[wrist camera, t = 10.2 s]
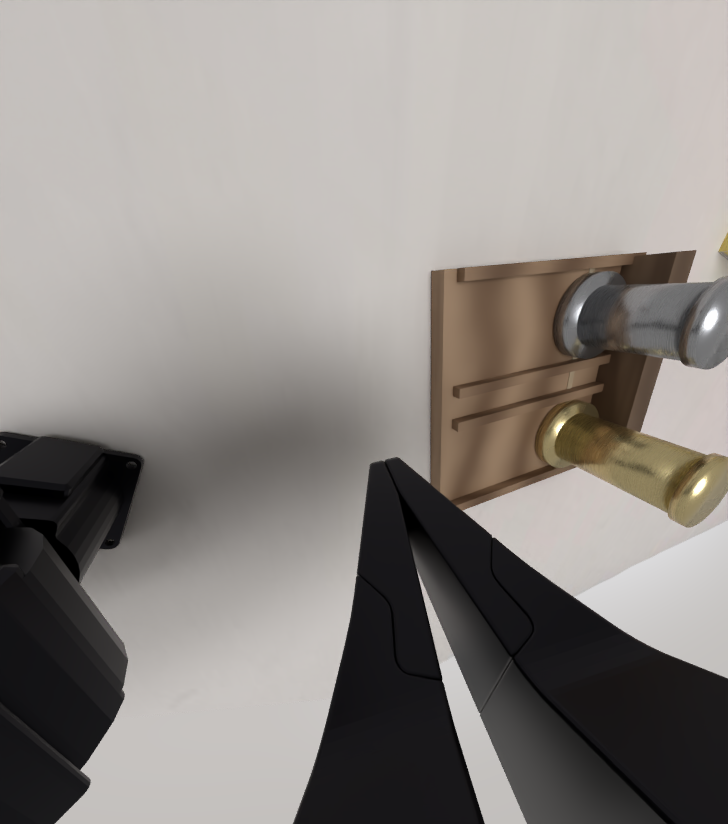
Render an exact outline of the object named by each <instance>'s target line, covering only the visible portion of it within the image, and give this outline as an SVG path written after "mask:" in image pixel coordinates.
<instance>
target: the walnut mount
mask: <svg viewBox="0 0 728 824" xmlns="http://www.w3.org/2000/svg"><path fill="white" fill-rule="evenodd" d="M695 253H696V250H693V251H681V252H671V253H661V254H651V255H646V252H645V253H633V254H621V255H609V256H597V257H585V258H573V259H562V260H550V261H538V262H526V263H514V264H502V265H490V266H478V267H467V268H458V269H446V270H438V271H432V272H431V485H432V486H433V487H434V488H436V489H437V490H438V491H439V492H440V493H442V494H443V495H444V496H445V497H446V498H448V499H449V500H450V501H451V502H452V503H454V504H455V505H456V506H457V507H458V508H460V509H461V510H465V509H467V508H470V507H473V506H475V505H478V504H480V503H483V502H486V501H488V500H491V499H494V498H496V497H499V496H502V495H504V494H507V493H509V492H512V491H515V490H517V489H520V488H523V487H525V486H528V485H531V484H533V483H536V482H538V481H541V480H544V479H546V478H549V477H552V476H554V475H557V474H560V473H562V472H565V471H567V470H570V469H573V468H575V467H576V466H574V465H572V464H571V465H569V466H567V467H564V468H556V467H553V466H551V465H550V464H548V463H546V462H544V461H542V460H541V459H540V458H539V457H538V455H537V453H536V449H535V442H536V436H537V433H538V430H539V428H540V426H541V424H542V422H543V420H544V419H545V417H546V416H547V415H548V413H549V412H550V411H551V410H552V409H553V408H554V407H555V406H557V405H558V404H560V403H563V402H567V401H570V400H574V399H577V400H580V401H584V402H587V403H590V404H592V405H594V406H595V407H596V409H597V411H598V414H599V418H600V419H603V420H606V421H609V422H612V423H615V424H617V425H620V426H623V427H626V428H629V429H632V430H635V431H638V432H640V431H641V428H642V425H643V421H644V418H645V415H646V412H647V408H648V405H649V402H650V399H651V395H652V392H653V389H654V386H655V383H656V379H657V376H658V373H659V370H660V366H661V363H662V360H663V358H660V357H653V356H646V355H639V354H633V353H626V352H619V351H612V350H606V349H605V350H604V351H603V352H601V353H600V354H598V355H597V356H595V357H592V358H589V359H582V358H577V357H571V356H567V355H565V354H563V353H562V352H560V350H559V349H558V347H557V346H556V343H555V339H554V320H555V315H556V312H557V309H558V306H559V304H560V301H561V299H562V298H563V296H564V294H565V292H566V291H567V290H568V288H569V287H570V286H571V285H572V284H573V283H574V282H575V281H576V280H577V279H578V278H580V277H581V276H583V275H585V274H587V273H591V272H603V271H614V272H617V273H619V274H620V275H621V276H622V277H623V278H624V280H625V282H626V285H631V284H668V283H686V282H687V279H688V276H689V273H690V270H691V266H692V263H693V260H694V257H695Z"/></svg>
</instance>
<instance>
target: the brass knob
mask: <svg viewBox="0 0 728 824" xmlns="http://www.w3.org/2000/svg"><path fill="white" fill-rule="evenodd" d="M535 449H536V453H537V455H538V457H539V458H540V459H541V460H542V461H544V462H546V463H548V464H550V465H551V466H553V467H556V468H564V467H567V466H569V465H571V464H572V465H574V466H576V467H578V468H580V469H582V470H584V471H586V472H588V473H590V474H592V475H594V476H596V477H598V478H600V479H602V480H604V481H606V482H608V483H610V484H612V485H614V486H616V487H618V488H620V489H622V490H623V491H625V492H627V493H629V494H631V495H633V496H635V497H637V498H639V499H641V500H643V501H645V502H647V503H649V504H651V505H653V506H655V507H657V508H659V509H661V510H663V511H665V512H667V513H668V517H669V518H670V519H671V520H673V521H675V522H677V523H679V524H681V525H683V526H685V527H688V528H689V527H693V526H695V525H697V524H698V523H700V522H701V521H703V520H704V519H705V518H706V517H707V516H708V515H709V514H710V513H711V512H712V511H713V510H714V509H715V508H716V507H717V505H718V504H719V503H720V502H721V500H722V499H723V497H724V496H725V494H726V493H727V491H728V457H725V456H722V455H719V454H716V453H712V454H709V455H705V454H702V453H699V452H696V451H694V450H691V449H688V448H685V447H682V446H679V445H676V444H673V443H670V442H667V441H664V440H661V439H658V438H656V437H653V436H650V435H647V434H644V433H641V432H638V431H635V430H632V429H629V428H626V427H623V426H620V425H617V424H615V423H612V422H609V421H606V420H603V419H600V418H599V414H598V411H597V409H596V407H595V406H594V405H592V404H590V403H587V402H584V401H580V400H577V399H574V400H570V401H567V402H563V403H560V404H558V405H557V406H555V407H554V408H553V409H552V410H551V411H550V412H549V413H548V415H547V416H546V417H545V419H544V420H543V422H542V424H541V426H540V428H539V430H538V433H537V436H536V442H535Z"/></svg>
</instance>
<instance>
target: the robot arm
mask: <svg viewBox="0 0 728 824" xmlns="http://www.w3.org/2000/svg"><path fill="white" fill-rule="evenodd" d="M0 440H2V441H4V442H5V443H6V445H7V446H4V445H1V444H0V824H55V823H56V822H57V821H58V820H59V819H60V818H61V817H62V816H63V815H64V813H66V812H67V811H68V810H69V809H70V808H71V807H72V806H73V805H74V804H75V803H76V802H77V801H78V800H79V799H80V798H81V796H83V795H84V793H85V792H86V791H87V789H88V788H89V785H90V779H89V778H88V777H87V776H86V775H85V774H84V773H82V772H81V771H80V770H81V768H82V767H83V766H84V765H85V763H86V762H87V761H88V760H89V758H90V756H91V755H92V753H93V752H94V750H95V749H96V747H97V746H98V744H99V743H100V741H101V740H102V738H103V737H104V735H105V734H106V732H107V730H108V729H109V727H110V726H111V724H112V723H113V721H114V719H115V717H116V715H117V713H118V711H119V708H120V706H121V704H122V702H123V700H124V696H125V694H124V691H123V690H122V688H123V685H124V680H125V674H126V669H127V663H128V658H127V654H126V651H125V647H124V643H123V642H122V641H121V639H120V638H119V637H118V635H117V634H116V633H115V631H114V630H113V628H112V627H111V626H110V624H109V623H108V622H107V620H106V619H105V618H104V616H103V615H102V614H101V612H100V611H99V610H98V608H97V607H96V606H95V604H94V603H93V601H92V600H91V599H90V597H89V596H88V595H87V593H86V592H85V591H84V589H83V588H82V587H81V585H80V583H81V581H82V579H83V577H84V575H85V573H86V572H87V570H88V568H89V566H90V564H91V563H92V561H93V559H94V557H95V555H96V554H97V552H98V550H99V549H112V548H115V547H117V546H118V545H119V543H120V541H121V539H122V535H123V532H124V529H125V525H126V522H127V518H128V515H129V511H130V508H131V505H132V501H133V498H134V494H135V491H136V487H137V484H138V480H139V477H140V474H141V470H142V467H143V459H142V458H141V457H140V456H138V455H134V454H128V453H122V452H116V451H111V450H105V449H102V448H101V447H100V446H95V445H89V444H83V443H78V442H72V441H66V440H61V439H55V438H49V437H40V438H35V437H30V436H24V435H18V434H12V433H6V432H0ZM128 462H135V463H136V464H137V465H136V466H131V465H129V463H128ZM107 539H112V540H114V541H108V540H107ZM416 568H417V569H416ZM417 570H418V573H419V575H420V577H421V580H422V582H423V584H424V587H425V589H426V591H427V594H428V596H429V598H430V600H431V603H432V605H433V607H434V610H435V612H436V614H437V617H438V619H439V621H440V624H441V626H442V628H443V630H444V633H445V635H446V637H447V640H448V642H449V644H450V647H451V649H452V651H453V654H454V656H455V658H456V660H457V663H458V665H459V667H460V670H461V672H462V674H463V677H464V679H465V681H466V684H467V686H468V688H469V691H470V693H471V695H472V698H473V700H474V702H475V704H476V706H477V709H478V711H479V713H480V716H481V719H482V721H483V723H484V725H485V728H486V730H487V732H488V735H489V737H490V739H491V742H492V744H493V746H494V749H495V751H496V753H497V755H498V758H499V760H500V762H501V765H502V767H503V769H504V772H505V774H506V776H507V779H508V781H509V783H510V785H511V788H512V790H513V792H514V795H515V797H516V799H517V802H518V804H519V806H520V809H521V811H522V813H523V815H524V818H525V820H526V822H527V824H728V678H725V677H723V676H720V675H717V674H715V673H713V672H710V671H707V670H705V669H702V668H700V667H698V666H695V665H693V664H690V663H687V662H685V661H682V660H680V659H678V658H675V657H672V656H670V655H668V654H665V653H663V652H661V651H659V650H656V649H654V648H652V647H650V646H648V645H646V644H644V643H643V642H641V641H639V640H637V639H635V638H634V637H632V636H630V635H629V634H627V633H625V632H624V631H622V630H621V629H619V628H618V627H616V626H614V625H613V624H612V623H610V622H609V621H607V620H606V619H604V618H603V617H601V616H600V615H599V614H597V613H596V612H594V611H593V610H591V609H590V608H589V607H587V606H586V605H584V604H583V603H581V602H580V601H579V600H577V599H576V598H574V597H573V596H571V595H570V594H568V593H567V592H566V591H564V590H563V589H561V588H560V587H558V586H557V585H555V584H554V583H553V582H551V581H550V580H548V579H547V578H546V577H544V576H543V575H541V574H540V573H539V572H537V571H536V570H535V569H533V568H532V567H530V566H529V565H528V564H526V563H525V562H524V561H523V560H521V559H520V558H519V557H518V556H516V555H515V554H514V553H513V552H511V551H510V550H509V549H508V548H506V547H505V546H504V545H503V544H502V543H500V542H499V541H498V540H497V539H496V538H492V535H491V534H489V533H488V532H487V531H486V530H485V529H484V528H482V527H481V526H480V525H479V524H478V523H476V522H475V521H474V520H473V519H472V518H470V517H469V516H468V515H467V514H466V513H464V512H463V511H462V510H461V509H460V508H458V507H457V506H456V505H455V504H454V503H452V502H451V501H450V500H449V499H448V498H446V497H445V496H444V495H443V494H442V493H440V492H439V491H438V490H437V489H436V488H434V487H433V486H432V485H431V484H430V483H428V482H427V481H426V480H425V479H424V478H422V477H421V476H420V475H419V474H418V473H416V472H415V471H414V470H413V469H412V468H410V467H409V466H408V465H407V464H406V463H404V462H403V461H402V460H401V459H400V458H398V457H395V458H391V459H386V460H385V462H384V461H378V462H374V463H371V464H370V469H369V477H368V485H367V494H366V502H365V510H364V519H363V527H362V535H361V544H360V552H359V560H358V569H357V575H358V576H357V577H356V584H355V592H354V599H353V605H352V612H351V618H350V623H349V627H348V632H347V637H346V642H345V646H344V650H343V655H342V659H341V663H340V667H339V671H338V675H337V680H336V684H335V688H334V692H333V696H332V700H331V704H330V709H329V713H328V717H327V721H326V725H325V728H324V732H323V736H322V740H321V743H320V747H319V750H318V753H317V757H316V760H315V763H314V766H313V770H312V773H311V776H310V779H309V782H308V784H307V787H306V790H305V792H304V795H303V798H302V801H301V803H300V806H299V809H298V811H297V814H296V817H295V820H294V822H293V824H485V823H484V820H483V817H482V814H481V811H480V807H479V804H478V801H477V798H476V794H475V791H474V788H473V785H472V781H471V778H470V775H469V772H468V768H467V765H466V762H465V759H464V756H463V752H462V749H461V746H460V743H459V740H458V736H457V733H456V729H455V726H454V722H453V719H452V715H451V711H450V707H449V704H448V700H447V696H446V692H445V687H444V684H443V682H442V675H441V671H440V667H439V662H438V658H437V654H436V649H435V645H434V641H433V637H432V633H431V628H430V624H429V620H428V616H427V611H426V607H425V603H424V599H423V595H422V590H421V586H420V582H419V578H418V573H417Z"/></svg>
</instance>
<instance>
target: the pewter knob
mask: <svg viewBox="0 0 728 824" xmlns="http://www.w3.org/2000/svg"><path fill="white" fill-rule="evenodd" d="M554 339H555V343H556V346H557V347H558V349H559V350H560V352H562V353H563V354H565V355H567V356H571V357H577V358H582V359H589V358H592V357H595V356H597V355H598V354H600V353H601V352H603V351H604V350H605V349H606V350H612V351H619V352H626V353H633V354H639V355H646V356H653V357H660V358H666V359H673V360H680V361H681V362H682V363H683V364H684V365H685V366H688V367H694V368H700V369H711V368H714V367H715V366H717V365H719V364H720V363H721V362H723V361H724V360H725V359H726V358H727V357H728V276H725V277H722V278H720V279H718V280H716V281H715V282H704V283H668V284H631V285H626V282H625V280H624V278H623V277H622V276H621V275H620V274H619V273H617V272H614V271H603V272H591V273H587V274H585V275H583V276H581V277H580V278H578V279H577V280H576V281H575V282H574V283H573V284H572V285H571V286H570V287H569V288H568V290H567V291H566V292H565V294H564V296H563V298H562V299H561V301H560V304H559V306H558V309H557V312H556V315H555V320H554Z"/></svg>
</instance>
